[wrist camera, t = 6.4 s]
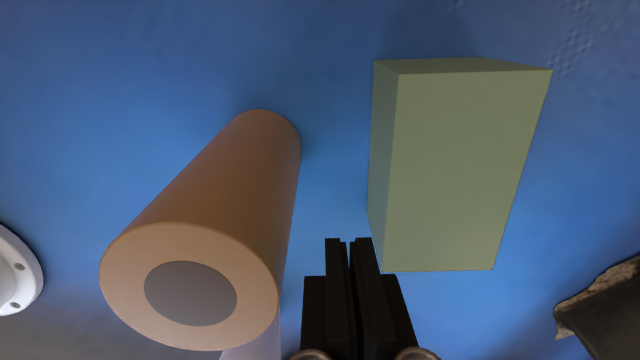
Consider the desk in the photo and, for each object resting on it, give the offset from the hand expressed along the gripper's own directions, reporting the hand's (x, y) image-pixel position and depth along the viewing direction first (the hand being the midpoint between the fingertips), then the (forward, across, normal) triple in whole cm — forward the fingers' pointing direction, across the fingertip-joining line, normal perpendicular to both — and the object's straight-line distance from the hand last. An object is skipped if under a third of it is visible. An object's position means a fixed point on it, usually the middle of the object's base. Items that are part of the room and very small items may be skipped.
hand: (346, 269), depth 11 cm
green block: (+13, -6, 0) cm, 14 cm away
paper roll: (+12, +1, 0) cm, 12 cm away
